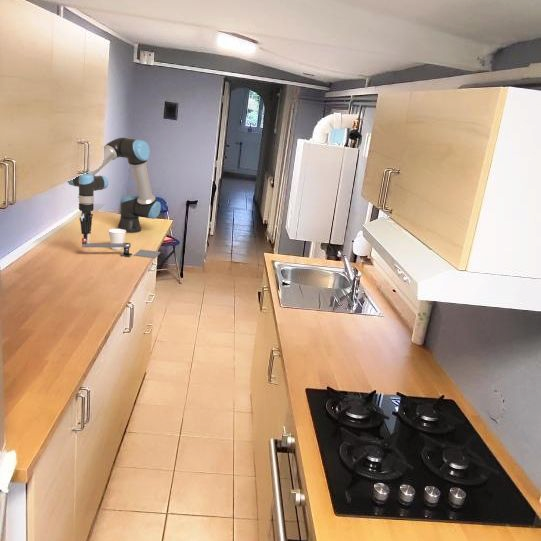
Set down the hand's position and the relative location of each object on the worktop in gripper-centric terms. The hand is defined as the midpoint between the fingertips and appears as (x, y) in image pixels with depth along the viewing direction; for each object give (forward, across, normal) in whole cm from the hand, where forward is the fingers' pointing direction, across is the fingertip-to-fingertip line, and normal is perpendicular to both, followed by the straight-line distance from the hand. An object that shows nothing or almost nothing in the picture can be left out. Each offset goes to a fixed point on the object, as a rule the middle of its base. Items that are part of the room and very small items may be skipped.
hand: (86, 245), depth 301 cm
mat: (+5, -14, +30) cm, 34 cm away
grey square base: (+5, -6, +20) cm, 22 cm away
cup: (+5, -17, +12) cm, 21 cm away
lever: (0, -2, +11) cm, 11 cm away
